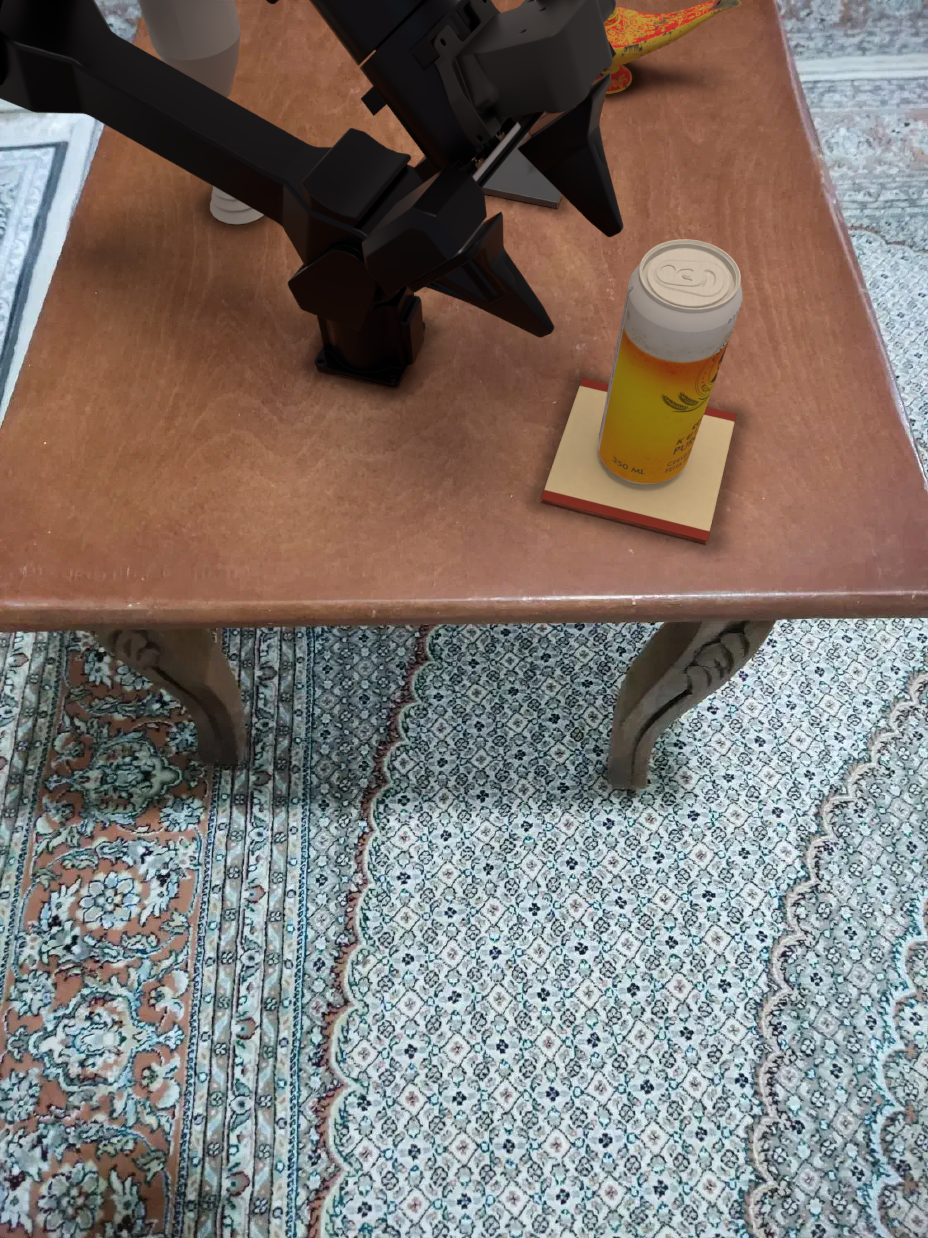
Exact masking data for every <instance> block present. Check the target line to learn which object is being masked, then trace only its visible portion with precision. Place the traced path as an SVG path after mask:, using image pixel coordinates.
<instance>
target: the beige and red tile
mask: <svg viewBox="0 0 928 1238" xmlns="http://www.w3.org/2000/svg"><path fill="white" fill-rule="evenodd" d="M608 387H609V383H604V382H600V381H597V380H592V379H587V378H581V381H580V385H579V386H578V390H577V392H576V395H575V398H574V400H573V404H572V407H571V410H570V412H569V416H568V419H567V422H566V425H565V426H564V431H563V433H562V436H561V439H560V442H559V445H558V448H557V451H556V454H555V456H554V459H553V462H552V466H551V468H550V471H549V474H548V477H547V480H546V483H545V486H544V489H543V492H542V495H541V497H540V503H543V504H547V505H550V506H554V507H558V508H562V509H566V510H571V511H575V512H577V513H582V514H586V515H589V516H594V517H598V518H602V519H606V520H608V521H613V522H617V523H621V524H625V525H629V526H632V527H636V528H641V529H644V530H645V529H646V530H649V531H653V532H656V533H661V534H664V535H669V536H672V537H675V538H676V537H677V538H680V539H684V540H688V541H691V542H697V543H700V544H704V545H707V543H708V540H709V536H710V533H711V528H712V523H713V519H714V515H715V512H716V511H715V510H716V507H717V506H716V505H717V502H718V498H719V493H720V488H721V484H722V479H723V474H724V472H725V471H724V470H725V467H726V461H727V457H728V453H729V448H730V445H731V442H732V441H731V440H732V437H733V436H732V435H733V433H734V432H733V431H734V428H735V423H736V419H737V413H735V412H731V411H726V410H722V409H718V408H713V407H709V406H706V409H705V412H704V415H703V418H702V421H701V424H700V427H699V430H698V433H697V436H696V439H695V441H694V444H693V447H692V450H691V453H690V456H689V459H688V462H687V464H686V466H685V467H684V469H683V470H682V471H681V472H680V473H679V474H677V475H676V476H675V477H673V478H671V479H669V480H667V481H664V482H660V483H656V484H650V485H639V484H634V483H630V482H627V481H625V480H623V479H621V478H620V477H618V476H617V475H616V474H614V473H613V472H612V471H611V470H610V469H609V468H608V467H607V466H606V465H605V464H604V462H603V461H602V459H601V457H600V454H599V450H598V438H599V433H600V428H601V423H602V418H603V413H604V407H605V402H606V397H607V392H608Z"/></svg>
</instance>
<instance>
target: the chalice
mask: <svg viewBox="0 0 928 1238" xmlns="http://www.w3.org/2000/svg"><path fill="white" fill-rule="evenodd" d="M137 2H138V4H139V9H140V12H141V14H142V18H143V21H144V24H145V27H146V31H147V34H148V37H149V40H150V44H151V46H152V47H153V49H154V51H155V52H156V54H157V56H158V57H159V59H160V60H161V61H163V62H165V63H166V64H168V65H170V66H172V67H174V68H175V69H177V70H179V71H181V72H182V73H184V74H186V75H188V76H189V77H191V78H193V79H195V80H196V81H198V82H200V83H202V84H203V85H205V86H207V87H209V88H210V89H212V90H214V91H216V92H217V93H219V94H221V95H223V96H225V97H226V98H228V97H229V96H230V95H231V93H232V89H233V85H234V80H235V76H236V71H237V67H238V62H239V55H240V53H239V52H240V42H241V23H240V18H239V14H238V9H237V4H236V0H137ZM209 211H210V213H211V214H212V216H213V217H214V218H215V219H217V221H220V222H223V223H225V224H228V225H229V224H231V225H242V224H244V225H245V224H249V223H252V222H254V221H257V220H258V219H261V218H263V216H265V215H263V214H261V213H260V212H258V211H256V210H254V209H253V208H251V207H249V206H247V205H246V204H244V203H242V202H240V201H239V200H237V199H235V198H233V197H232V196H230V195H228V194H226V193H224V192H223V191H221V190H219V189H217V188H216V187H214V186H212V191H211V200H210V203H209Z"/></svg>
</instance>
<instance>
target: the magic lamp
mask: <svg viewBox="0 0 928 1238" xmlns="http://www.w3.org/2000/svg"><path fill="white" fill-rule="evenodd" d="M741 5H742V1H741V0H707V1H704V2H702V3H698V4H696V5H693V6H690V7H687V8H685V9H681V10H677V11H673V12H664V13H651V12H643V11H638V10H634V9H631V8H630V9H629V8H626V7H620V6H616V8H615V10H614V11H613V13H612V14H611V15H610V16H609V18H608V19H607V20H606V21H605V22H604V26H605V30H606V34H607V38H608V40H609V42H610V44H611V45H612V47H613V49H614V50H615V52H616V55H615V56H614V58H613V63H612V65H611V66H610V68H609V69H608V70H606V71H602V73H601V74H600V75H599V76H598V78H597V79H595V80H594V82H595V81H597V80H598V79H600V78H601V77H603V76H604V75H605V74H607V73H609V72H610V74H611V84H610V86H609V87H608V89H607V91H606V94H605V95H611V94H612V95H613V94H616V93H620V92H622V91H624V90H626V89H627V88H628V87H629V86H630V85H631V83H632V80H633V75H632V72H631V71H630V69H629V68H627V67H626V66H625V65H626V64H629V63H631V62H633V61H635V60H637V59H640V58H642V57H644V56H646V55H649V54H650V53H653V52H655V51H657V50H660V49H662V48H664V47H667V46H668V45H670V44H672V43H674V42H676V41H678V40H680V39H681V38H683V37H685V36H686V35H687V34H689V33H691V32H692V31H693V30H695V29H696V28H698V27H699V26H700V25H702V24H703V23H705V22H706V21H708V20H710V19H711V18H713V17H715V16H716V15H719V14H720V13H722V12H725V11H726V10H729V9H733V8H737V7H740V6H741ZM594 82H593V83H594ZM593 83H592V84H593Z"/></svg>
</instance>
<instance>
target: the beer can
mask: <svg viewBox="0 0 928 1238" xmlns="http://www.w3.org/2000/svg"><path fill="white" fill-rule="evenodd" d="M741 279H742V276H741V271H740V268H739V266H738V263H737V262H736V261H735V260H734V259H733V257H732V256H731V255H730V254H729V253H727V252H726V251H725V250H723V249H721V248H720V247H719V246H716V245H714V244H712V243H710V242H709V243H708V242H706V241H702V240H697V239H688V238H686V239H685V238H684V239H683V238H680V239H672V240H668V241H664V242H661V243H658V244H657V245H655V246H653V247H652V248H650V250H648V251H647V252H646V253H645V254H644V255H643V257H642V259H641V261H640V263H639V264H638V265H637V266H636V267H635V268H634V270H633V271H632V273H631V274H630V277H629V280H628V283H627V289H626V294H625V300H624V303H623V310H622V315H621V320H620V325H619V330H618V336H617V341H616V346H615V350H614V356H613V361H612V366H611V367H612V368H611V372H610V377H609V382H608V384H609V387H608V392H607V397H606V402H605V407H604V413H603V418H602V423H601V428H600V433H599V438H598V450H599V454H600V457H601V459H602V461H603V462H604V464H605V465H606V466H607V467H608V468H609V469H610V470H611V471H612V472H613V473H614V474H616V475H617V476H618V477H620V478H621V479H623V480H625V481H627V482H630V483H634V484H639V485H650V484H656V483H660V482H664V481H667V480H669V479H671V478H673V477H675V476H676V475H677V474H679V473H680V472H681V471H682V470H683V469H684V467H685V466H686V464H687V462H688V459H689V456H690V453H691V450H692V447H693V444H694V441H695V439H696V436H697V433H698V430H699V427H700V424H701V421H702V418H703V415H704V412H705V409H706V407H708V404H709V400H710V397H711V394H712V392H713V389H714V385H715V383H716V380H717V377H718V374H719V371H720V369H721V366H722V363H723V359H724V357H725V354H726V350H727V348H728V345H729V342H730V339H731V337H732V333H733V330H734V328H735V325H736V321H737V319H738V317H739V314H740V310H741V307H742V305H743V299H744V297H743V296H744V293H743V287H742V283H741Z"/></svg>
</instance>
